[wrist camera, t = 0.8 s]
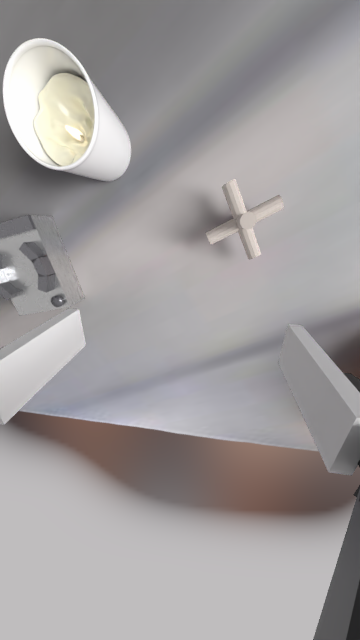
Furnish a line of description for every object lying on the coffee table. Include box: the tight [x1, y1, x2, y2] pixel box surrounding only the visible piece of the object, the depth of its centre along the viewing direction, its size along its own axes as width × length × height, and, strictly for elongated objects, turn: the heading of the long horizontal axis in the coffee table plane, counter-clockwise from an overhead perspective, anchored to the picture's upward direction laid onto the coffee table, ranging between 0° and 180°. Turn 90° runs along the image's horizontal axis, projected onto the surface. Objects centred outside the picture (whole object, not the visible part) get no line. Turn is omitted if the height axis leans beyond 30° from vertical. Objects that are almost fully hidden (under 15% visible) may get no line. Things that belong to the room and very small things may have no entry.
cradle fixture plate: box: [0, 215, 85, 316], centre depth 38 cm, size 15×11×7 cm
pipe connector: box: [206, 179, 284, 259], centre depth 29 cm, size 10×10×10 cm
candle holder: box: [3, 38, 131, 181], centre depth 26 cm, size 10×10×12 cm
